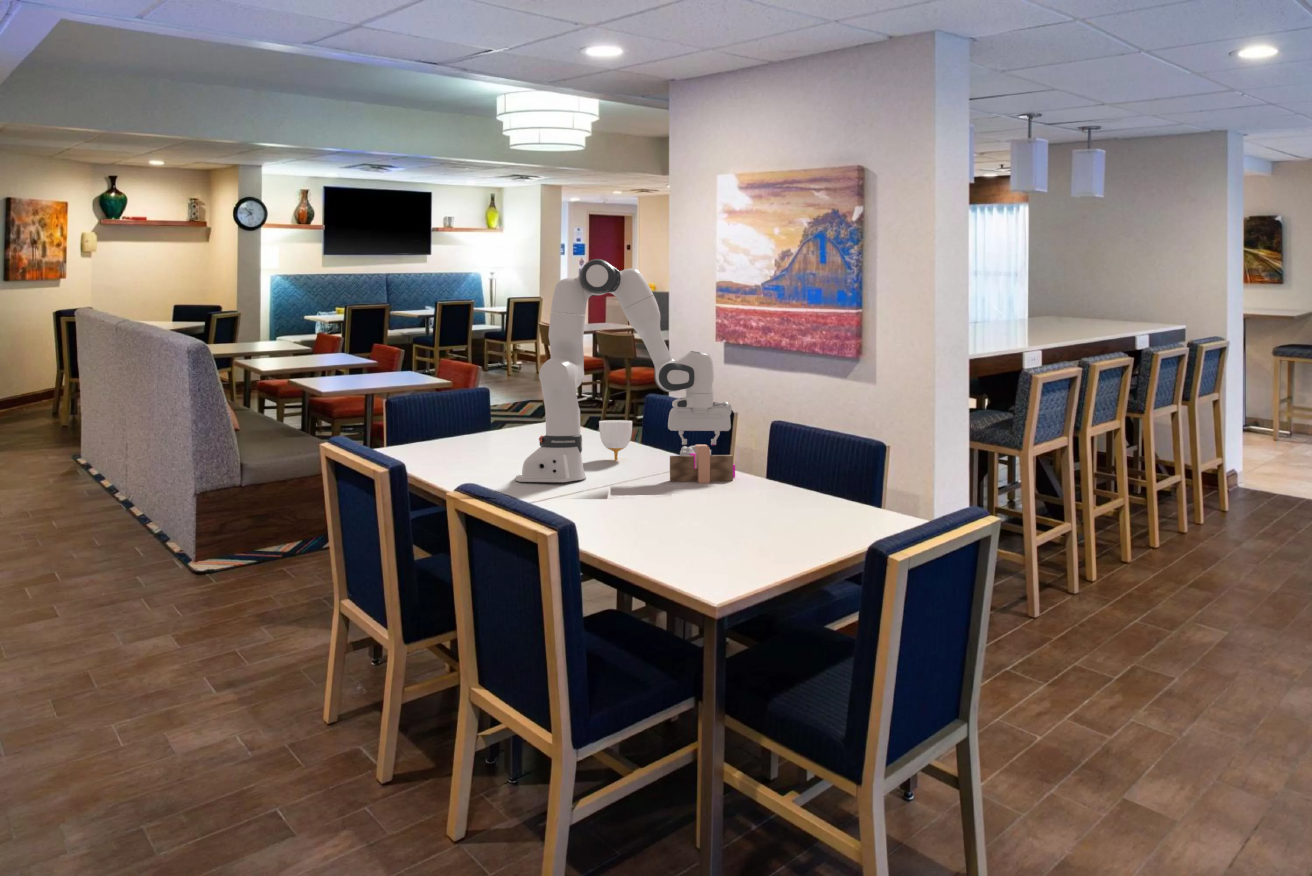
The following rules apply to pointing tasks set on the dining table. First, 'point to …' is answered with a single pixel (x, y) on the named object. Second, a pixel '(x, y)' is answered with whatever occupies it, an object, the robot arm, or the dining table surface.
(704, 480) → the tan notched block
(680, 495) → the dining table surface
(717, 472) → the walnut rail
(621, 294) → the robot arm
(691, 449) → the lumpy-topped squat cylinder
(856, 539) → the dining table surface
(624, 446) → the cup
